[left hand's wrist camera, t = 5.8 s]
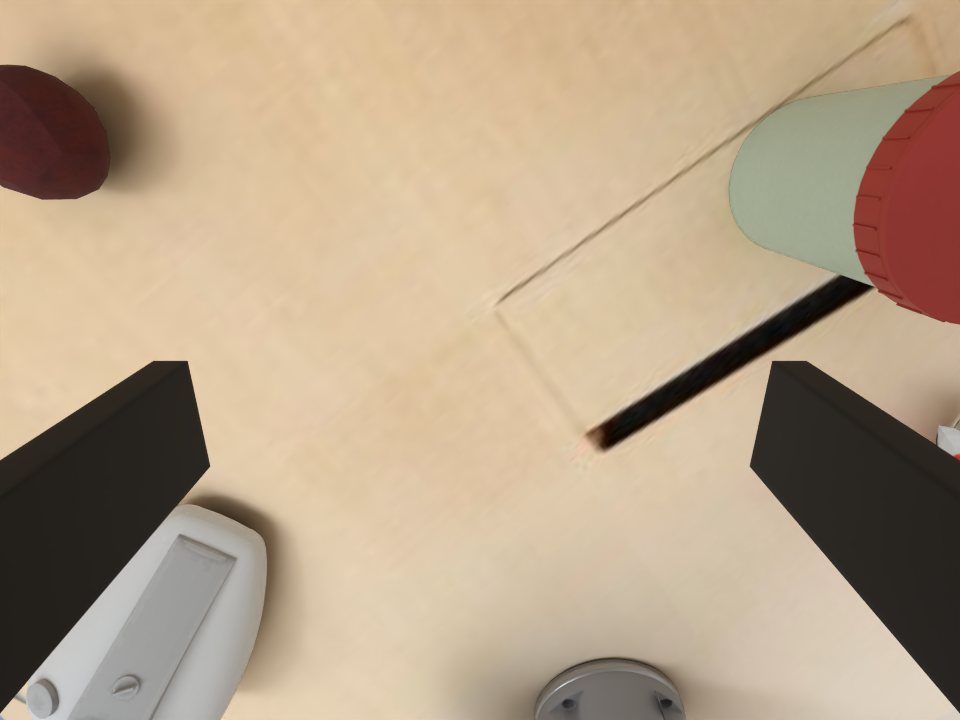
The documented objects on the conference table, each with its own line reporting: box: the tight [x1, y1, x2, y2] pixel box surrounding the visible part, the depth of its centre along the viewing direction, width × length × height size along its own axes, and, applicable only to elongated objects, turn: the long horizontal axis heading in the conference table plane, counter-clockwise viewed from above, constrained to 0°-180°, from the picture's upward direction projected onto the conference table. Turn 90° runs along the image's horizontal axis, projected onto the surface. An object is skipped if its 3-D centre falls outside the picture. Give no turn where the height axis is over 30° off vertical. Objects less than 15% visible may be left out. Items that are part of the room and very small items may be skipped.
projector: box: [26, 504, 267, 720], centre depth 44 cm, size 22×23×15 cm
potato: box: [0, 65, 110, 200], centre depth 33 cm, size 7×8×7 cm
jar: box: [729, 75, 951, 287], centre depth 30 cm, size 10×10×16 cm
